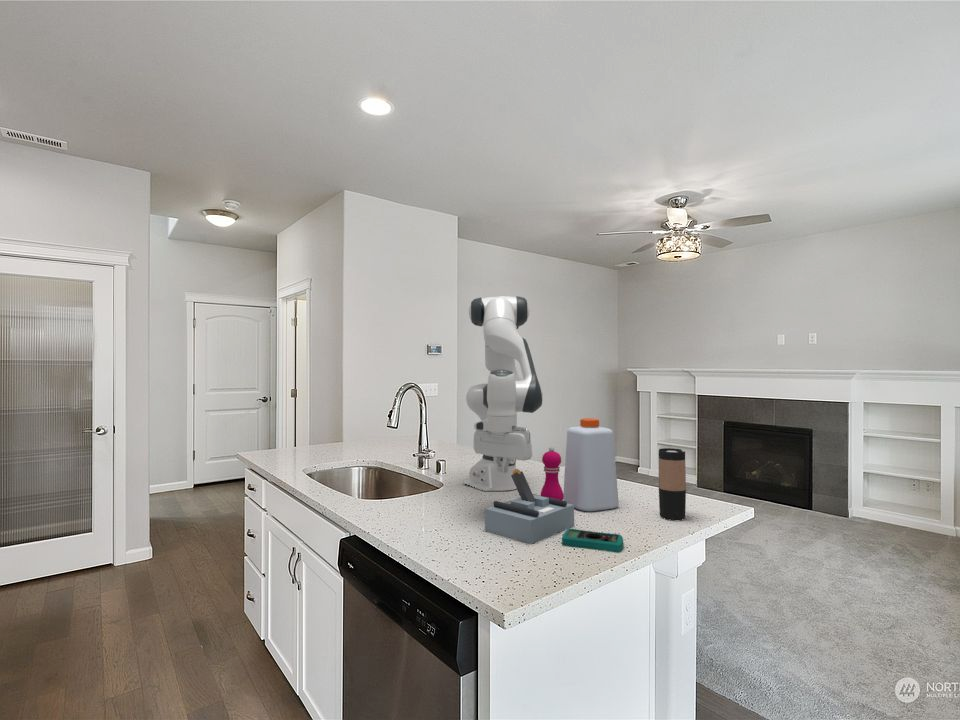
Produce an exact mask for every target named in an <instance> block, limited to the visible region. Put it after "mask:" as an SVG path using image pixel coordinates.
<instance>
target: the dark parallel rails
mask: <svg viewBox="0 0 960 720" xmlns="http://www.w3.org/2000/svg"><path fill="white" fill-rule="evenodd" d="M532 494H533V495H537V496H541V494H540V495H539V494H534V493H532ZM542 497H544V496H542ZM547 498H549V497H547ZM549 503H550V504H554V505H559V506H563V507H565V506H566V505H567V502H566V501H564V500H559V499H554V498H549ZM492 506H495V507H498V508H502V509H506V510H510V511H514V512H518V513H522V514H526V515H530V516H534V517H538V516H539V512H538V511H536V510H532V509H528V508H524V507H520V506H515V505H511V504H507V503H505V502H502V501H497V500H494V501H493V503H492Z"/></svg>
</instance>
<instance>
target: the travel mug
mask: <svg viewBox="0 0 960 720" xmlns="http://www.w3.org/2000/svg"><path fill="white" fill-rule="evenodd" d="M686 478H687V476H686V451H684V450H682V449H681V448H673V447H669V448H666V447H664V448H658V500H659V502H658V503H659V504H658V505H659V507H658V508H659V516H661V517H663V518H662V519H664V518H665V519H664V520H667V519H671V520H670V521H674V520H679V521H683V520H682V519H684V520H686V509H687V508H686V500H687V499H686V498H687V482H686V481H687V479H686ZM661 517H660V518H661Z"/></svg>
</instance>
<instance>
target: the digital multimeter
mask: <svg viewBox="0 0 960 720" xmlns="http://www.w3.org/2000/svg"><path fill="white" fill-rule="evenodd" d="M564 531H565V532H564V533H563V534H562V538H561V545H562V546H563V547H564V546H565V547H573V548H574V547H575V548H581V549H582V548H583V549H589V550H590V549H591V550H597V549H598V550H597V551H604V550H606V552H611V551H612V552H613V553H620V552H622V550H623V549H624V538H623V536H622V535H621V534H618V533H610V532H601V531H599V532H598V531H592V530H591V531H590V530H583V529H578V528H577V529H574V528H568V529H566V530H564Z"/></svg>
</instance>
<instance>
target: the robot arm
mask: <svg viewBox="0 0 960 720" xmlns="http://www.w3.org/2000/svg"><path fill="white" fill-rule="evenodd" d="M530 312H531V311H530V306H529V303H528V301H527V299H526V298H525V297H524V296H523V297H522V296H518V295H516V296H510V295H509V296H508V295H499V296H487V297H477V298H474V299H473V300H472V301H471V302H470V305H469V307H468V316H469V319H470V321H471V323H472V325H474V326H477V327H482V328H483V339H484V356H485V357H484V361H485V362H484V365H485V367H486V369H487V370H488V371H489V373H488V378H487V383H480V384H475V385H471V386H470V387H469V388H468V390H467V393H466V395H465V396H466V397H465V400H466V404H467V407H469V410H470V411H472V412H473V413H474V414H475V415H477V417H478V418H479V419H480V421H476V422H474V423H473V424H474V425H473V429H474V430H475V431H474V433H473V450H474V453H475V454H479V455H482V458H481V459H480V460H478V461H477V462H476V463H475V464H474V465H473V466H472V467H470V470H469V476H468V478H467V479H464V480H462V481H463V482H462V484H463V483H464V484H463V485H465V484H467V485H466V486H468V485H470V486H469V487H471V486H472V487H471V488H474V487H475V488H474V489H477V490H480V491H482V490H483V492H490V491H496V492H501V491H502V492H504V491H513V490H514V491H515V490H517V488H516V486H515V483H514V481H513V479H512V477H511V475H513V474H512V473H513V470H515V469H517V464H516V463H517V461H523V462H524V461H529V460H530V459H532V458H533V446H532V440H531V432H530V431H529V430H528V429H527V428H526V426H518V421H517V420H518V417H517V415H518V413H519V412H522V413H530V414H531V413H532V414H533V413H535V412H536V411H538V410H539V409H540V408H541V407H542V406H543V401H544V400H543V398H544V395H543V394H544V393H543V390H542V387H541V385H540V382H539V379H538V375H537V373H536V369H535V364H534V361H533V358H532V353H531V350H530V347H529V344H528V341H527V340H526V338H523V337H522V336H521V335H520V334H519V332H518V330H519V327H521V326H523V325H525V323H527V321H528V318H529V317H530ZM516 361H517V362H518V363H519V366H520V369H521V374H522V378H523V379H522V378H521V377H520V375H519V373H518V371H517V367H516Z"/></svg>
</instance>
